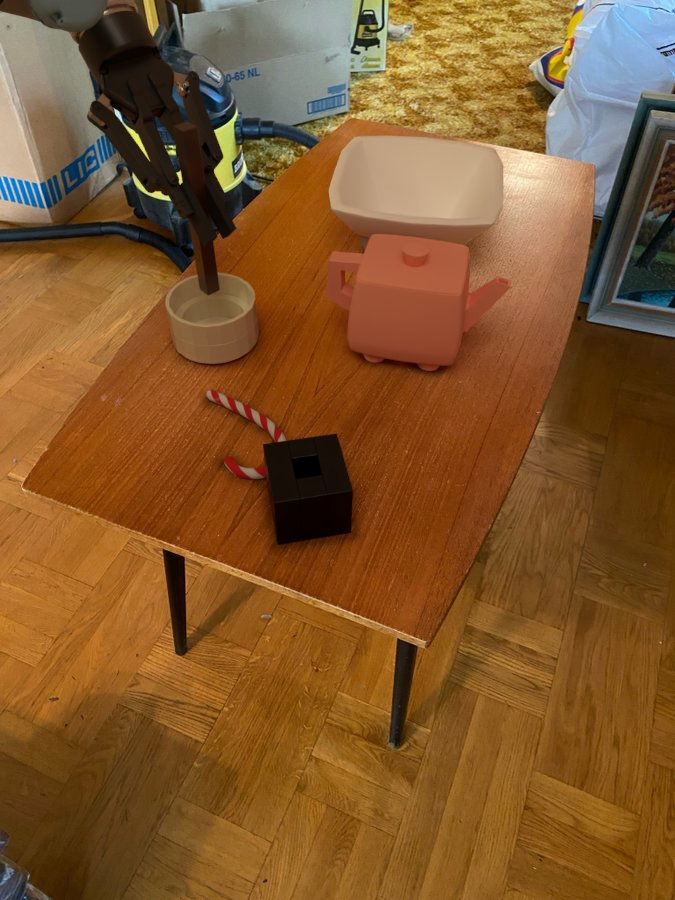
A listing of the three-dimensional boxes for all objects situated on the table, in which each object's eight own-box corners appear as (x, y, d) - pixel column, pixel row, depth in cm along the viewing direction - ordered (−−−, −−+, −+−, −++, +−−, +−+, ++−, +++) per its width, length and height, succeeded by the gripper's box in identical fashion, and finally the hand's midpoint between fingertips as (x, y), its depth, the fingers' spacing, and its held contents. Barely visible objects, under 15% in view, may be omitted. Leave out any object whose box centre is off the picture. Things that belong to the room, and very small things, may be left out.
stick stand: (277, 545, 72) (273, 502, 66) (267, 487, 77) (262, 443, 71) (351, 533, 73) (353, 490, 68) (336, 476, 78) (336, 433, 72)
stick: (208, 296, 86) (182, 131, 71) (199, 289, 87) (172, 125, 72) (220, 290, 87) (197, 126, 72) (211, 283, 88) (187, 120, 73)
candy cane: (231, 377, 86) (304, 450, 78) (232, 384, 87) (304, 458, 79) (174, 404, 83) (244, 484, 75) (176, 412, 84) (245, 492, 76)
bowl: (320, 277, 102) (319, 212, 95) (346, 191, 119) (347, 129, 111) (489, 295, 100) (503, 230, 92) (492, 204, 116) (504, 142, 109)
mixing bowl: (162, 362, 90) (153, 321, 85) (187, 309, 97) (180, 268, 92) (248, 371, 89) (243, 330, 84) (266, 317, 96) (263, 276, 91)
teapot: (497, 325, 96) (519, 230, 85) (490, 388, 87) (513, 292, 77) (337, 302, 98) (339, 208, 88) (316, 361, 90) (315, 265, 80)
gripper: (160, 34, 81) (260, 225, 85) (38, 67, 74) (153, 273, 78) (178, -8, 74) (286, 202, 79) (46, 24, 68) (172, 252, 72)
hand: (220, 237), depth 78 cm, fingers closed on stick, 2 cm apart
